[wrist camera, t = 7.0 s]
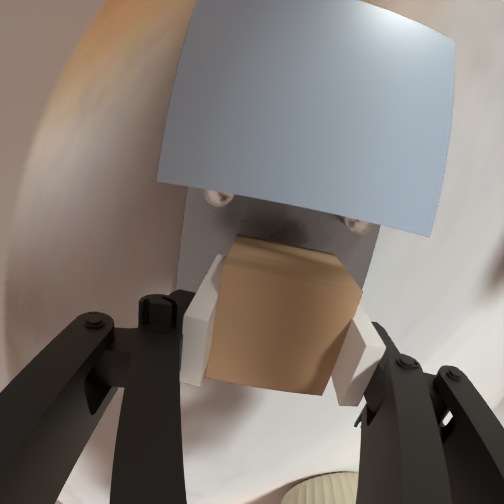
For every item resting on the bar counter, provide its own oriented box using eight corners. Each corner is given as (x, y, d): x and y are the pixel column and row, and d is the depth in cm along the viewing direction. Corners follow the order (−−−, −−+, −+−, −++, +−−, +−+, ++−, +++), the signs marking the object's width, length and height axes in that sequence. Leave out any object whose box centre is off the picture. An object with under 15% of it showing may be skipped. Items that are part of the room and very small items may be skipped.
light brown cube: (221, 321, 16) (205, 377, 11) (237, 233, 15) (223, 264, 10) (308, 336, 16) (321, 395, 11) (333, 253, 15) (363, 291, 10)
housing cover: (225, 33, 15) (204, -23, 9) (401, 73, 15) (454, 41, 9) (196, 175, 18) (156, 181, 12) (378, 212, 18) (429, 237, 12)
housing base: (223, 36, 17) (212, 8, 13) (398, 76, 17) (425, 59, 13) (179, 297, 23) (161, 326, 18) (341, 326, 23) (355, 359, 18)
